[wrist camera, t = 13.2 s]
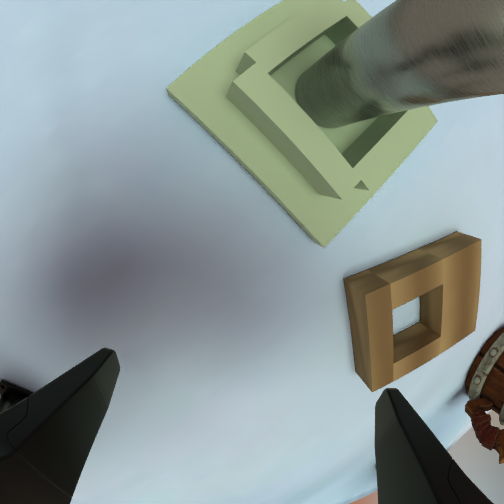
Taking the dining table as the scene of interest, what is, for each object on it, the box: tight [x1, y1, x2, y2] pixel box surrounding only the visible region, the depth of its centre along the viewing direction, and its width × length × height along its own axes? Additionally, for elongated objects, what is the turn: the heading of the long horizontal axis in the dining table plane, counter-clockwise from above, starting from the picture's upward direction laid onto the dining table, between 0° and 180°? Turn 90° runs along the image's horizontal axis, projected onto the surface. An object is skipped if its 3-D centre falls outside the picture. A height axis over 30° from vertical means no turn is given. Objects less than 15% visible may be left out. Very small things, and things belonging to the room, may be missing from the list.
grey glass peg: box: [295, 0, 504, 129], centre depth 9 cm, size 4×4×14 cm
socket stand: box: [166, 0, 437, 248], centre depth 15 cm, size 13×13×4 cm
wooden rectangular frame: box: [344, 232, 481, 392], centre depth 21 cm, size 12×9×3 cm
